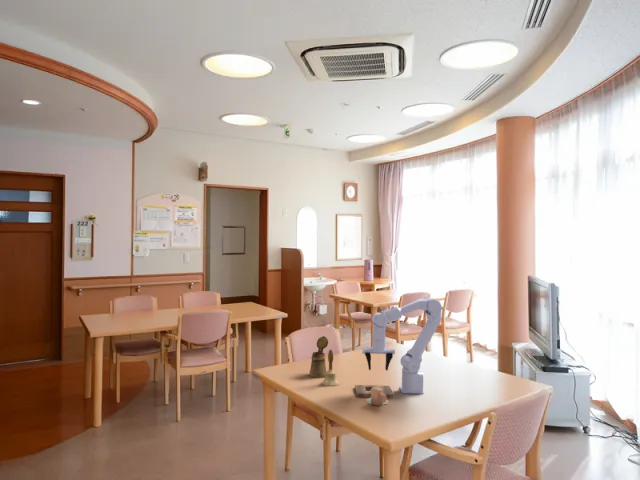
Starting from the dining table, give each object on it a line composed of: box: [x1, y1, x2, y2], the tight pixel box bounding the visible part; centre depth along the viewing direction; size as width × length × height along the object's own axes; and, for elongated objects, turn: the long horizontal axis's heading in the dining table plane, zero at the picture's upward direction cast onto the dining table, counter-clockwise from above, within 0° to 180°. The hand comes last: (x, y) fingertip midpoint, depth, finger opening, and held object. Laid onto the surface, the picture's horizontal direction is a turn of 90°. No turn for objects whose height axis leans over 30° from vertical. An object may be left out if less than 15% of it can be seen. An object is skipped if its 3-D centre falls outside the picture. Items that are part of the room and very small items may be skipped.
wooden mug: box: [309, 335, 329, 379], centre depth 229 cm, size 9×14×18 cm, turn 163°
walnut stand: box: [354, 384, 395, 399], centre depth 202 cm, size 16×12×2 cm
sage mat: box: [366, 397, 389, 406], centre depth 191 cm, size 9×9×1 cm
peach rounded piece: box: [370, 387, 387, 406], centre depth 186 cm, size 9×5×6 cm, turn 20°
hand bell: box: [321, 349, 340, 387], centre depth 214 cm, size 8×8×16 cm
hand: (378, 369), depth 204 cm, fingers open, 7 cm apart
